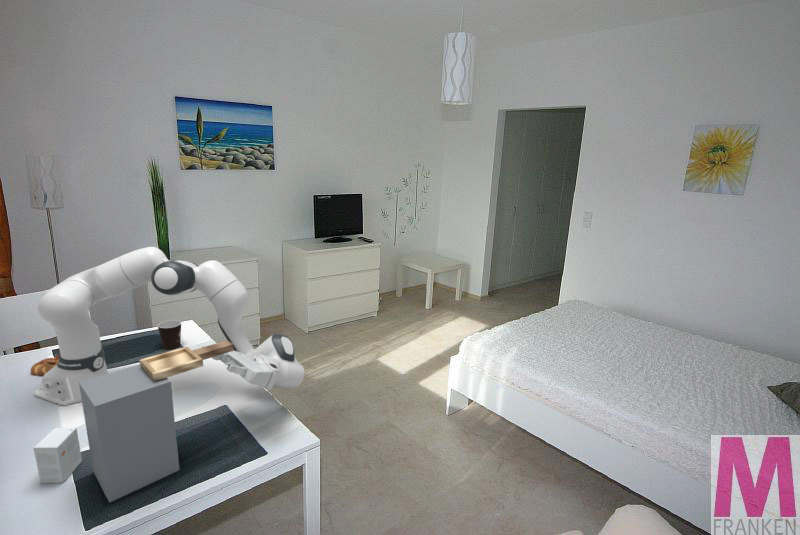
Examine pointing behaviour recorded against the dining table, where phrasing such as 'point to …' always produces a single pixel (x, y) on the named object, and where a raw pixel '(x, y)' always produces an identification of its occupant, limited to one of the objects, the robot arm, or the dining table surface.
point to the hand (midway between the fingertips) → (220, 361)
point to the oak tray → (181, 360)
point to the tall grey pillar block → (129, 430)
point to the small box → (58, 455)
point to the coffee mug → (170, 334)
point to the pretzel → (43, 366)
